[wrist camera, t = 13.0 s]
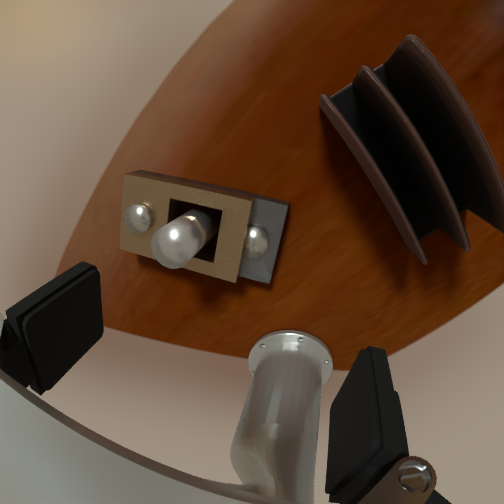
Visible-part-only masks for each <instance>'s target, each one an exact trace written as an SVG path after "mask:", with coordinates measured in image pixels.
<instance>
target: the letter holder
mask: <svg viewBox="0 0 504 504" xmlns="http://www.w3.org/2000/svg"><path fill="white" fill-rule="evenodd" d="M319 107H320V108H321V109H322V110H323V112H324V113H325V115H326V116H327V117H328V119H329V120H330V121H331V123H332V124H333V126H334V127H335V129H336V130H337V131H338V133H339V134H340V136H341V137H342V139H343V140H344V141H345V143H346V145H347V146H348V147H349V149H350V150H351V152H352V154H353V155H354V157H355V158H356V160H357V161H358V163H359V164H360V166H361V167H362V169H363V170H364V172H365V174H366V175H367V177H368V179H369V180H370V182H371V183H372V185H373V187H374V188H375V190H376V192H377V193H378V195H379V197H380V199H381V200H382V202H383V204H384V205H385V207H386V209H387V211H388V212H389V214H390V216H391V218H392V219H393V221H394V223H395V225H396V227H397V229H398V230H399V232H400V234H401V236H402V238H403V240H404V242H405V244H406V245H407V246H408V247H409V248H410V250H411V251H412V252H413V253H414V254H415V255H416V256H417V258H418V259H419V260H420V261H421V262H422V263H423V264H424V265H427V262H428V260H427V257H426V255H425V253H424V251H423V249H422V247H421V245H420V242H419V241H420V240H422V239H423V238H424V237H426V236H428V235H429V234H431V233H432V232H434V231H436V230H437V229H440V230H441V231H443V232H444V233H445V234H446V235H448V236H449V237H450V238H451V239H452V240H453V241H455V242H456V243H457V244H458V245H459V246H460V247H461V248H462V249H463V250H464V251H466V252H469V251H470V248H471V246H470V243H469V239H468V236H467V234H466V230H465V227H464V225H463V222H462V220H461V217H460V214H461V213H463V212H464V211H466V210H467V209H468V210H469V211H471V212H473V213H474V214H476V215H477V216H479V217H480V218H482V219H483V220H485V221H486V222H488V223H489V224H491V225H492V226H493V227H495V228H496V229H498V230H499V231H501V232H502V233H503V234H504V183H503V180H502V177H501V175H500V172H499V169H498V167H497V164H496V161H495V159H494V157H493V154H492V152H491V149H490V148H489V145H488V143H487V141H486V139H485V137H484V135H483V133H482V131H481V129H480V127H479V125H478V123H477V121H476V120H475V118H474V116H473V114H472V112H471V111H470V109H469V107H468V106H467V104H466V102H465V101H464V99H463V97H462V96H461V94H460V92H459V91H458V89H457V88H456V86H455V85H454V83H453V82H452V80H451V78H450V77H449V76H448V74H447V73H446V71H445V70H444V69H443V67H442V66H441V65H440V63H439V62H438V61H437V60H436V58H435V57H434V56H433V54H432V53H431V52H430V51H429V49H428V48H427V47H426V46H425V44H424V43H423V42H422V41H421V40H420V39H419V38H418V37H416V36H415V35H413V34H410V35H407V36H406V37H405V38H404V39H403V41H402V42H401V43H400V44H399V46H398V47H397V48H396V49H395V51H394V52H393V53H392V54H391V55H390V57H389V58H388V59H387V60H386V61H385V63H383V64H382V65H380V66H379V67H377V68H376V69H374V70H373V69H372V68H371V67H370V66H362V67H361V68H360V70H359V71H358V73H357V75H356V77H355V79H354V81H353V82H352V83H350V84H348V85H347V86H346V87H344V88H343V89H341V90H340V91H338V92H337V93H335V94H334V95H332V96H330V97H329V96H328V95H321V96H320V101H319Z"/></svg>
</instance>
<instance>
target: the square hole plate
mask: <svg viewBox="0 0 504 504" xmlns="http://www.w3.org/2000/svg"><path fill="white" fill-rule="evenodd" d="M182 201H185V202H190V203H194V204H198V205H202V206H207V207H211V208H215V209H219V210H223V211H222V217H221V223H220V228H219V234H218V240H217V247H216V249H212V248H208V247H205V246H203V247H202V248H201V249H200V250H199V251H198V252H197V253H196V254H195V255H194V256H193V257H192V258H191V259H190V260H189V261H188V262H187V263H186V264H185V265H184V266H183V267H182V268H185V269H188V270H192V271H195V272H199V273H202V274H206V275H209V276H213V277H216V278H219V279H223V280H227V281H230V282H234V283H236V282H237V280H238V278H239V277H240V276H241V277H245V278H248V279H252V280H256V281H259V282H263V283H267V284H269V283H270V280H271V277H272V273H273V269H274V265H275V261H276V257H277V253H278V249H279V245H280V241H281V237H282V233H283V229H284V224H285V220H286V216H287V212H288V208H289V203H290V202H286V201H282V200H278V199H274V198H270V197H266V196H261V195H257V194H253V193H249V192H244V191H240V190H236V189H231V188H227V187H222V186H218V185H213V184H208V183H204V182H199V181H194V180H189V179H185V178H180V177H175V176H169V175H164V174H159V173H154V172H148V171H143V170H139V171H135V172H130V173H126V174H124V181H123V193H122V207H121V225H120V249H123V250H126V251H129V252H133V253H136V254H139V255H142V256H145V257H149V258H152V259H155V260H156V258H155V257H154V255H153V253H152V249H151V240H152V237H153V235H154V233H155V232H156V231H157V230H158V229H160V228H162V227H163V226H165V225H166V224H168V223H170V222H171V221H173V220H175V219H176V218H178V217H180V216H181V209H182Z"/></svg>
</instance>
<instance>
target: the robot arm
mask: <svg viewBox="0 0 504 504" xmlns="http://www.w3.org/2000/svg"><path fill="white" fill-rule="evenodd" d="M6 315H7V319H6V320H4V319H3V316H2V315H1V314H0V504H314V474H315V461H316V451H317V440H318V427H319V414H320V399H321V387H322V386H324V385H325V384H326V383H327V381H328V380H329V378H330V376H331V373H332V369H333V360H332V356H331V353H330V351H329V349H328V348H327V346H326V345H325V344H324V343H323V342H322V341H320V340H319V339H318V338H316V337H314V336H312V335H310V334H308V333H305V332H301V331H295V330H281V331H276V332H272V333H270V334H267V335H265V336H263V337H262V338H260V339H259V340H258V341H257V342H256V343H255V344H254V345H253V347H252V349H251V351H250V354H249V357H248V368H249V371H250V373H251V375H252V377H253V380H252V383H251V386H250V389H249V392H248V395H247V398H246V401H245V405H244V408H243V411H242V414H241V417H240V420H239V423H238V426H237V429H236V432H235V435H234V438H233V442H232V445H231V451H230V455H231V462H232V465H233V467H234V469H235V471H236V473H237V475H238V476H239V478H240V480H241V481H242V483H243V485H237V484H230V483H227V484H226V483H221V482H216V481H211V480H207V479H202V478H199V477H196V476H193V475H190V474H187V473H184V472H182V471H179V470H176V469H174V468H171V467H168V466H166V465H163V464H161V463H159V462H156V461H154V460H151V459H149V458H147V457H145V456H142V455H140V454H138V453H136V452H133V451H131V450H129V449H127V448H125V447H123V446H121V445H119V444H117V443H115V442H113V441H111V440H109V439H107V438H105V437H103V436H101V435H99V434H97V433H95V432H94V431H92V430H90V429H88V428H87V427H85V426H83V425H81V424H80V423H78V422H76V421H75V420H73V419H71V418H70V417H68V416H66V415H64V414H63V413H62V412H60V411H58V410H57V409H55V408H54V407H52V406H50V405H49V404H48V403H46V402H45V401H43V400H41V399H40V398H39V397H37V396H36V395H35V394H33V393H32V392H30V391H29V390H28V389H26V388H27V387H28V386H29V385H30V387H31V389H32V390H34V391H35V392H37V393H38V394H39V395H42V394H43V393H44V392H45V391H46V390H50V389H51V388H52V387H53V386H54V385H55V384H56V383H57V382H58V381H59V380H60V379H61V378H62V377H63V376H64V375H65V374H66V373H67V372H68V371H69V370H70V369H71V368H72V366H73V365H74V364H75V363H76V362H77V361H78V360H79V359H80V358H81V357H82V356H83V355H84V354H85V353H86V352H87V351H88V350H89V349H90V348H91V347H92V346H93V345H94V344H95V343H96V342H97V341H98V340H99V339H100V338H101V337H102V335H103V331H104V328H103V317H102V303H101V286H100V273H99V272H98V270H97V267H96V266H94V265H91V264H89V263H86V262H80V263H78V264H77V265H75V266H73V267H72V268H70V269H69V270H67V271H65V272H64V273H62V274H61V275H59V276H57V277H56V278H54V279H53V280H51V281H50V282H48V283H46V284H45V285H43V286H42V287H40V288H39V289H37V290H36V291H34V292H33V293H31V294H30V295H28V296H27V297H25V298H24V299H22V300H21V301H19V302H18V303H16V304H15V305H13V306H12V307H10V308H9V309H8V310H6ZM436 480H437V477H436V473H435V470H434V469H433V467H432V465H431V464H430V463H429V462H428V461H426V460H424V459H422V458H420V457H416V456H409V451H408V445H407V438H406V432H405V426H404V420H403V415H402V409H401V404H400V400H399V395H398V393H397V392H396V391H394V388H393V383H392V379H391V373H390V369H389V364H388V359H387V355H386V351H385V350H384V349H380V348H375V347H371V346H369V347H367V348H366V350H364V349H362V350H361V351H360V352H359V354H358V356H357V358H356V360H355V362H354V364H353V366H352V368H351V370H350V372H349V373H348V375H347V377H346V379H345V381H344V383H343V385H342V387H341V388H340V390H339V392H338V394H337V396H336V397H335V399H334V401H333V403H332V405H331V409H330V425H329V444H328V459H327V473H326V484H325V493H327V494H330V496H329V502H331V503H340V504H451V503H450V502H449V501H448V500H446V499H445V498H444V497H443V496H442V495H440V494H439V493H438V492H437V491H436V490H434V488H435V486H436Z"/></svg>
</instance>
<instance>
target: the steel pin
mask: <svg viewBox="0 0 504 504" xmlns="http://www.w3.org/2000/svg"><path fill="white" fill-rule="evenodd" d="M220 223H221V222H220V217H219V215H218V213H217V212H216V211H215V210H214V209H213V208H211V207H207V206H202V205H199V206H196V207H194V208H193V209H191V210H189V211H188V212H186V213H184V214H183V215H181V216H180V217H178V218H176V219H175V220H173V221H171V222H170V223H168V224H166V225H165V226H163V227H162V228H160V229H158V230H157V231H156V232H155V233H154V235H153V237H152V240H151V249H152V253H153V255H154V257H155V258H156V260H157V261H158V262H159V263H160V264H161V265H163V266H165V267H167V268H170V269H177V268H181V267H183V266H184V265H185V264H186V263H187V262H188V261H189V260H190V259H191V258H192V257H193V256H194V255H195V254H196V253H197V252H198V251H199V250H200V249H201V248H202V247H203V246H204V245H205V244H206V243H208V242H209V241H210V240H211V239H212V238H213V237H214V236H215V235H216V234H217V232H218V231H219V228H220Z"/></svg>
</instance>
